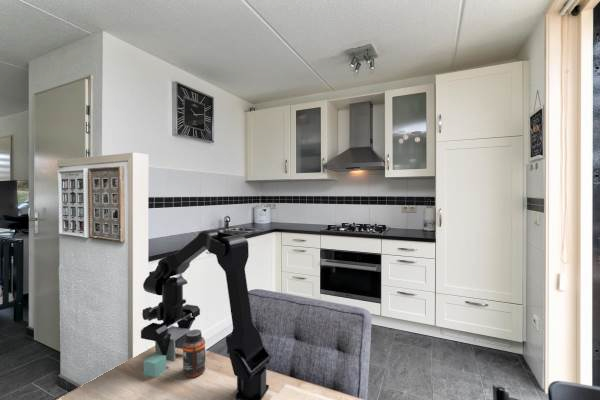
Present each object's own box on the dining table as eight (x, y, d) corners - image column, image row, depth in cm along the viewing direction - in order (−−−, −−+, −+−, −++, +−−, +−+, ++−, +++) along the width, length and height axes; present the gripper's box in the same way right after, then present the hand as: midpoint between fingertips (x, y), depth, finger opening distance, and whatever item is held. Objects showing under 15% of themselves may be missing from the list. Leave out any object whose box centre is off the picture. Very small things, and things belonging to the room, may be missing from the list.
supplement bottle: (209, 366, 85) (208, 328, 84) (200, 379, 79) (199, 338, 78) (189, 364, 85) (189, 326, 85) (179, 377, 79) (178, 337, 79)
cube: (166, 369, 83) (166, 355, 83) (155, 377, 79) (155, 363, 79) (155, 366, 85) (155, 353, 84) (143, 374, 81) (143, 360, 81)
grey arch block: (189, 349, 91) (189, 329, 91) (174, 361, 84) (173, 339, 84) (172, 345, 93) (171, 325, 93) (155, 357, 86) (155, 336, 86)
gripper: (173, 285, 99) (173, 330, 100) (125, 306, 82) (126, 360, 82) (200, 289, 96) (201, 335, 96) (156, 311, 78) (157, 368, 79)
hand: (173, 348), depth 88 cm, fingers closed on grey arch block, 7 cm apart
